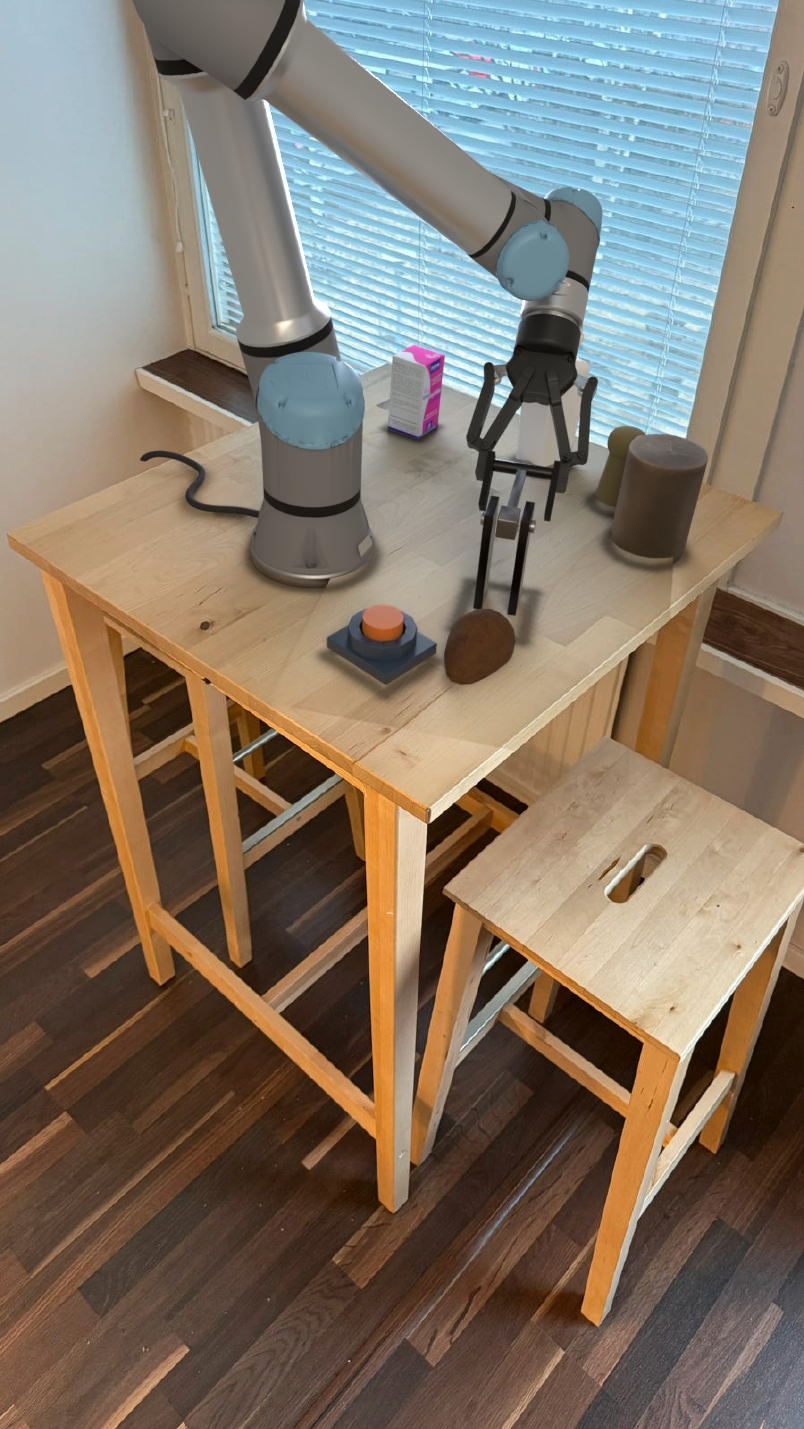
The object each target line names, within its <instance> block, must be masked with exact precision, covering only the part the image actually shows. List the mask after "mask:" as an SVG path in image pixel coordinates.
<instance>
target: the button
mask: <svg viewBox="0 0 804 1429" xmlns="http://www.w3.org/2000/svg"><path fill="white" fill-rule="evenodd" d="M365 609H366V610H365V611H364V613H363V616H362V631H363V633H364V635H365V636H366V637H368V638H370V639H371V640H376V641H382V642H383V641H390V640H396V639H397V638H399V637H400V636H401V635H402V632H403V620H404V617H403V614H402V612H403V611H402V610H401V609H399V608H397V607H394V606H392V605H387V604H376V605H372V606H369V607H368V608H365ZM400 610H401V611H402V612H401V611H400Z"/></svg>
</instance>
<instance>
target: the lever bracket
mask: <svg viewBox="0 0 804 1429" xmlns="http://www.w3.org/2000/svg"><path fill="white" fill-rule="evenodd" d="M499 503H500V496H497V495H489V498H488V502H487V507H486V511H481V516H480V521H479V524H480V526H482V531H481V539H480V540H481V541H480V546H479V547H480V548H479V556H478V565H477V572H476V582H475V590H474V598H473V607H472V608H473V609H474V610H476V609H483V606H484V603H485V600H486V597H487V593H488V590H489V582H490V575H491V567H492V559H493V550H494V543H495V534H496V526H497V519H498V513H499V505H500V504H499ZM535 507H536V502H535V501H529V500H526V501H525V504H524V508H523V511H522V515H521V518H520V522H519V531H518V536H517V544H516V552H515V557H514V565H513V572H512V579H511V585H510V591H509V599H508V606H507V613H506V614H507V615H509V616H513V617H516V616H517V613H518V608H519V605H520V600H521V596H522V590H523V583H524V578H525V573H526V572H525V571H526V565H527V559H528V552H529V544H530V539H531V534H534V533H535V531H536V525H537V521H536V519H535V520H533V519H534V513H535Z"/></svg>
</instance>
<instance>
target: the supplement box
mask: <svg viewBox="0 0 804 1429" xmlns="http://www.w3.org/2000/svg"><path fill="white" fill-rule="evenodd" d="M445 357H446V356H445V354H442V353H440V352H437V351H433V350H430V349H427V348H425V347H421V346H419V345H416V344H413V345H410V346H409V347H407V348H404V349H403V350H401V351H399V352H398V353H396V354H394V355H393V356H392V359H391V360H392V363H391V376H390V388H389V389H390V392H389V402H388V404H389V405H388V417H387V428H386V429H387V430H389V431H392V432H394V433H398V434H401V435H403V436H406V437H408V438H411V439H414V440H420V439H421V438H422V437H423V436H425V435H426V434H428V433H429V432H431V431H432V430H435V429H436V428H438V426H439V416H440V406H441V395H442V389H443V388H442V387H443V379H444V378H443V377H444V368H445Z"/></svg>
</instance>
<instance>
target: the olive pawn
mask: <svg viewBox="0 0 804 1429" xmlns="http://www.w3.org/2000/svg"><path fill="white" fill-rule="evenodd" d="M640 435H641V436H642V435H647V434H646V432H645V431H644V430H642V429H641V428H638V427H636V426H631V425H621V426H618V427H615V428H613V429H612V430H611V432H610V433H609V435H608V438H607V444H606V445H607V449H608V452H609V453H608V455H607V459H606V461H605V464H604V467H603V470H602V473H601V476H600V479H599V481H598V484H597V487H596V490H595V493H594V494H595V497H596V499H598V501H600V502H601V503H603V504H605V505H608V506H612V507H616V505H617V501H618V496H619V491H620V487H621V482H622V478H623V473H624V469H625V464H626V459H627V454H628V449H629V445H630V443H631V442H632V441H633V440H634V439H636V437H637V436H640Z"/></svg>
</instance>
